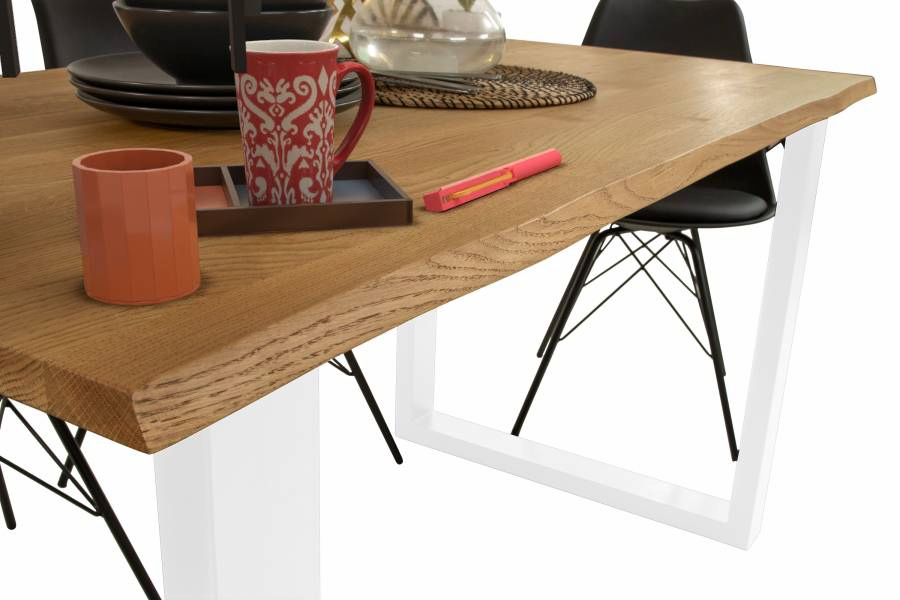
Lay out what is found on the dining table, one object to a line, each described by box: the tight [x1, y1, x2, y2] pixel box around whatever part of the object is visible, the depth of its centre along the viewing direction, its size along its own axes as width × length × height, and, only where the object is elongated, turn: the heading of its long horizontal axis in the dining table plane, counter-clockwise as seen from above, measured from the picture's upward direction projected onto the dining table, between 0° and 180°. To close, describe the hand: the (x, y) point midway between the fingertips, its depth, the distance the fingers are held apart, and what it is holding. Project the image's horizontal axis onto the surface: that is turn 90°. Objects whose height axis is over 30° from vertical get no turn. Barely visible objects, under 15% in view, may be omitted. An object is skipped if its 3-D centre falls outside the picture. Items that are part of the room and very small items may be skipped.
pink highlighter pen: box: [422, 147, 563, 213], centre depth 97 cm, size 24×2×5 cm
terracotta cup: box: [71, 147, 201, 306], centre depth 66 cm, size 7×7×9 cm
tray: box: [193, 158, 414, 238], centre depth 87 cm, size 25×16×2 cm, turn 106°
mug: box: [228, 39, 376, 206], centre depth 86 cm, size 13×9×14 cm
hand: (129, 73), depth 63 cm, fingers open, 13 cm apart
